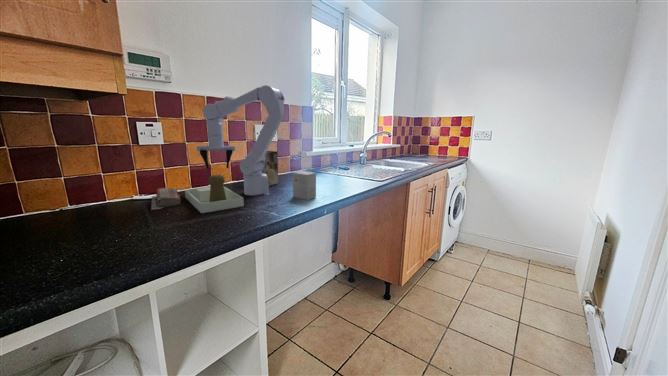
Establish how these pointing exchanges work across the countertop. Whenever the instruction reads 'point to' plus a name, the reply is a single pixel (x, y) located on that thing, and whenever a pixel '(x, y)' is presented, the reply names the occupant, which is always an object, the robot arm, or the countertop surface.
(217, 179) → the brown rounded lobed piece
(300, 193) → the small box
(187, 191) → the box
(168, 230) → the countertop surface
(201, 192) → the white box
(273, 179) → the coffee box
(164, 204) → the packaged product
